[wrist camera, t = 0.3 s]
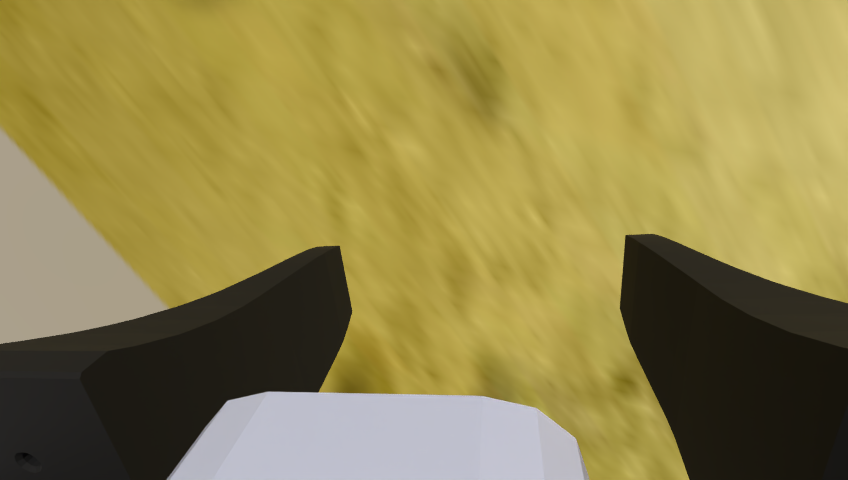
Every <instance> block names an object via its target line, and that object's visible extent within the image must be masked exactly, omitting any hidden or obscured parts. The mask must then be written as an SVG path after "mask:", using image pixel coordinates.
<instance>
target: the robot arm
mask: <svg viewBox="0 0 848 480" xmlns="http://www.w3.org/2000/svg"><path fill="white" fill-rule="evenodd" d="M620 310H621V314H622V317H623V321H624V324H625V328H626V331H627V334H628V337H629V340H630V343H631V345H632V347H633V350H634V352H635V354H636V356H637V358H638V360H639V362H640V364H641V366H642V369H643V371H644V373H645V375H646V377H647V379H648V381H649V383H650V385H651V387H652V389H653V391H654V393H655V395H656V397H657V399H658V401H659V404H660V406H661V408H662V410H663V412H664V414H665V416H666V418H667V420H668V423H669V425H670V427H671V430H672V432H673V434H674V437H675V439H676V442H677V445H678V448H679V451H680V454H681V457H682V459H683V462H684V465H685V468H686V471H687V474H688V477H689V479H690V480H848V303H844V302H840V301H836V300H833V299H829V298H825V297H821V296H818V295H814V294H811V293H808V292H804V291H801V290H798V289H794V288H791V287H788V286H784V285H781V284H778V283H775V282H772V281H770V280H767V279H764V278H761V277H759V276H756V275H753V274H751V273H748V272H745V271H743V270H740V269H737V268H735V267H733V266H730V265H728V264H725V263H723V262H720V261H718V260H716V259H713V258H711V257H709V256H707V255H704V254H702V253H700V252H697V251H695V250H693V249H691V248H688V247H686V246H684V245H682V244H679V243H677V242H675V241H672V240H670V239H667V238H665V237H662V236H659V235H655V234H641V235H626V237H625V250H624V262H623V275H622V288H621V301H620ZM351 314H352V307H351V302H350V297H349V292H348V287H347V282H346V277H345V271H344V266H343V261H342V256H341V251H340V246H323V247H315V248H312V249H309V250H306V251H304V252H302V253H299V254H297V255H295V256H293V257H291V258H289V259H287V260H285V261H283V262H281V263H279V264H277V265H275V266H273V267H271V268H269V269H267V270H264V271H262V272H260V273H258V274H256V275H254V276H252V277H250V278H247V279H245V280H243V281H241V282H239V283H237V284H234V285H232V286H230V287H228V288H226V289H223V290H221V291H218V292H216V293H213V294H211V295H208V296H206V297H203V298H200V299H198V300H195V301H192V302H189V303H187V304H184V305H181V306H178V307H174V308H171V309H167V310H164V311H161V312H157V313H154V314H150V315H147V316H144V317H140V318H137V319H133V320H129V321H125V322H121V323H117V324H112V325H108V326H103V327H99V328H94V329H89V330H84V331H80V332H74V333H69V334H63V335H56V336H50V337H44V338H37V339H31V340H25V341H18V342H11V343H3V344H0V480H589V476H588V473H587V470H586V467H585V464H584V461H583V458H582V455H581V452H580V449H579V446H578V443H577V440H576V438H575V437H573V436H572V435H571V434H569V433H568V432H567V431H566V430H564V429H563V428H562V427H560V426H559V425H558V424H556V423H555V422H554V421H553V420H551V419H550V418H549V417H547V416H546V415H545V414H543V413H542V412H541V411H540V410H538V409H537V408H534V407H529V406H525V405H520V404H516V403H511V402H507V401H502V400H498V399H493V398H489V397H485V396H460V395H410V394H361V393H318V392H319V390H320V388H321V386H322V384H323V382H324V380H325V378H326V376H327V374H328V372H329V370H330V368H331V366H332V364H333V362H334V360H335V358H336V356H337V353H338V351H339V349H340V347H341V345H342V343H343V340H344V337H345V334H346V331H347V328H348V325H349V321H350V318H351Z"/></svg>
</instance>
